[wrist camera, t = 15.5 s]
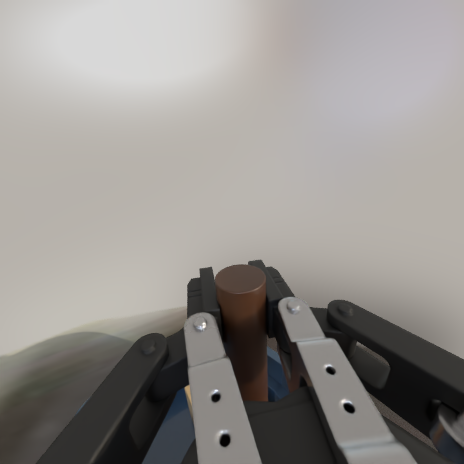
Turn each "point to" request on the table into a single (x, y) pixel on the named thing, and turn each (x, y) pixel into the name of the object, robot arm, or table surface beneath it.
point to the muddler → (245, 327)
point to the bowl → (181, 425)
